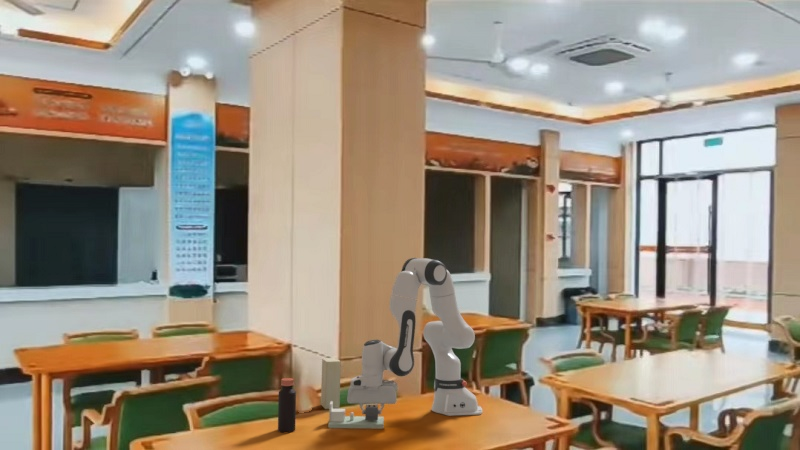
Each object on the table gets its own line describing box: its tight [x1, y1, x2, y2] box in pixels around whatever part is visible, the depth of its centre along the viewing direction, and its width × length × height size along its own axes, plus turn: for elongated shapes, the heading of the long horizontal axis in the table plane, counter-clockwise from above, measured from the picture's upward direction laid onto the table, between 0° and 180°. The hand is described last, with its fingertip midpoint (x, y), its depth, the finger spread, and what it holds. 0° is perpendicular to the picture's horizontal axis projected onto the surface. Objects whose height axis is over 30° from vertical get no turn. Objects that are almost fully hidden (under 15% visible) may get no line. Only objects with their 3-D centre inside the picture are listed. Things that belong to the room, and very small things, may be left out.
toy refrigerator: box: [320, 357, 342, 410], centre depth 298 cm, size 8×7×21 cm
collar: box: [364, 404, 379, 420], centre depth 271 cm, size 5×5×5 cm
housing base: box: [327, 404, 385, 430], centre depth 271 cm, size 22×12×8 cm, turn 91°
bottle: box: [277, 377, 297, 433], centre depth 261 cm, size 7×7×20 cm
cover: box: [328, 401, 346, 422], centre depth 271 cm, size 6×5×7 cm
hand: (371, 414), depth 271 cm, fingers closed on collar, 5 cm apart
